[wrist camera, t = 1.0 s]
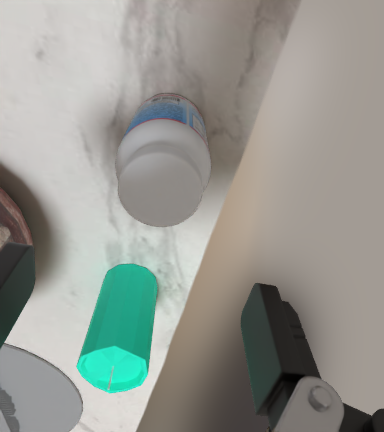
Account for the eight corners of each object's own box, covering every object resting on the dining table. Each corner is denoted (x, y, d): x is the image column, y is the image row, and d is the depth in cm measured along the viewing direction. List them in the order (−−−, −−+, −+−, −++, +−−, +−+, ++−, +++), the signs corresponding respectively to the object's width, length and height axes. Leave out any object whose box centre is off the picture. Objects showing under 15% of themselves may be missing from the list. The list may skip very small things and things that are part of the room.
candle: (154, 306, 38) (142, 412, 28) (102, 300, 38) (71, 406, 28) (160, 267, 35) (149, 370, 25) (104, 260, 35) (69, 363, 24)
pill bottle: (122, 145, 28) (88, 214, 19) (150, 78, 25) (127, 117, 16) (185, 175, 30) (184, 252, 20) (218, 114, 27) (235, 170, 17)
